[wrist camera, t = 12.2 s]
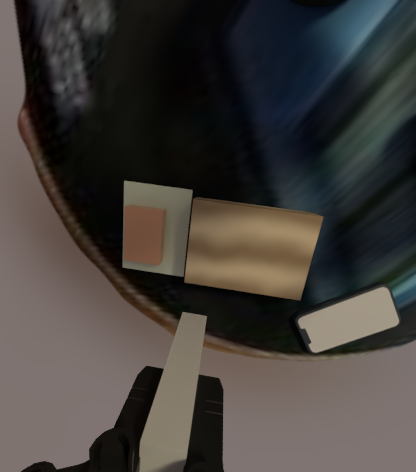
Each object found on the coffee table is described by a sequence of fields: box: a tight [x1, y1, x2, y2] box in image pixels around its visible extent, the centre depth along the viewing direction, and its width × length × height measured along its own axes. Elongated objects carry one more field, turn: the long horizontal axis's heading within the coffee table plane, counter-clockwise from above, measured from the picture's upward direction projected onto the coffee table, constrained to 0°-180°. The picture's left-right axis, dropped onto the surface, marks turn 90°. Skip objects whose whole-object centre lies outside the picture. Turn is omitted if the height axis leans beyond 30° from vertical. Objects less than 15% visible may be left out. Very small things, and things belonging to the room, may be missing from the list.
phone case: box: [293, 282, 401, 354], centre depth 36 cm, size 9×2×16 cm
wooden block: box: [184, 197, 323, 300], centre depth 32 cm, size 13×18×4 cm
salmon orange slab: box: [124, 205, 166, 265], centre depth 34 cm, size 9×6×2 cm, turn 173°
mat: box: [123, 181, 193, 277], centre depth 35 cm, size 15×11×1 cm
